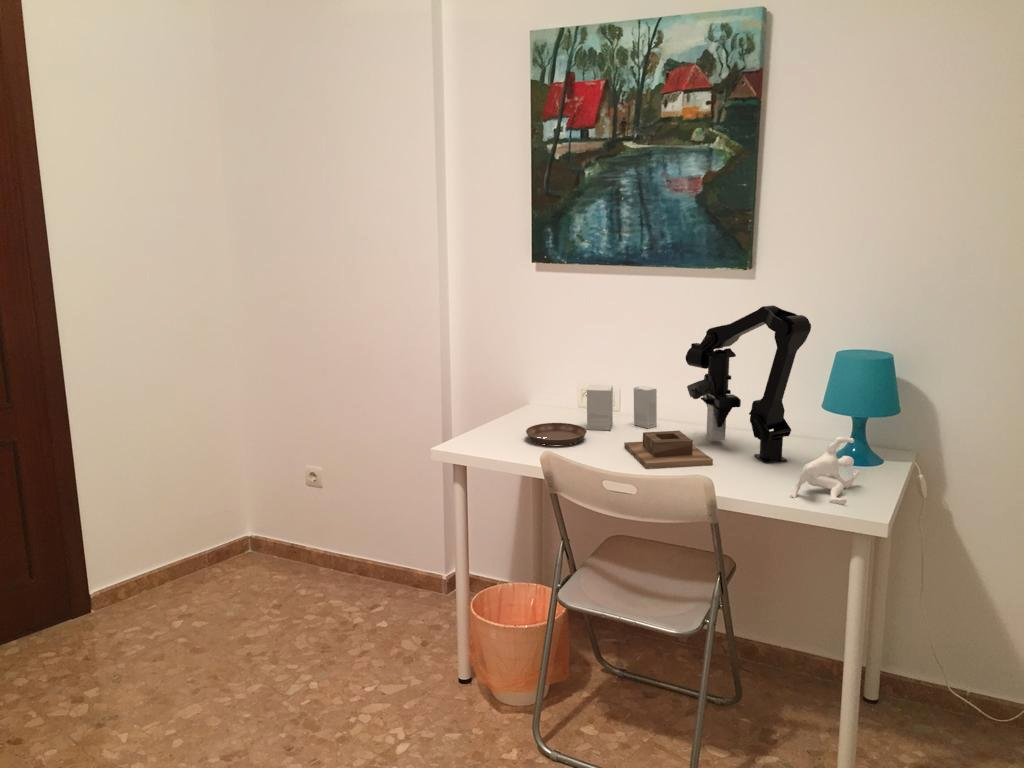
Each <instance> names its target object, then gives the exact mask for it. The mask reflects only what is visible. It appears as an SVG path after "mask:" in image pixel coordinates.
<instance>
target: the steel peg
mask: <svg viewBox="0 0 1024 768" xmlns="http://www.w3.org/2000/svg"><path fill="white" fill-rule="evenodd" d="M711 404H715V403H710V404H708V407H707V406H706V407H707V409H706V412H707V414H706V432H705V433H706V435H705V436H706V438H707V439H708V440H709V441H711V442H718V441H726V432H727V431H726V426H727V418H726V419H725V421H724V423H723V425H722V426H721V427H717V422H716V411H715V408H714V407H713V406H712V405H711Z"/></svg>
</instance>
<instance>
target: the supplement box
mask: <svg viewBox="0 0 1024 768" xmlns="http://www.w3.org/2000/svg"><path fill="white" fill-rule="evenodd" d="M613 403H614V388H613V385H598V384H590V385H589V387H588V388H587V389H586V428H587V429H586V430H587V431H588V430H589V431H592V430H593V431H597V430H598V431H611V429H612V427H613V424H614V421H613V419H614V418H613V417H614V416H613V414H614V413H613V411H614V408H613V406H614V405H613Z"/></svg>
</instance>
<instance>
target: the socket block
mask: <svg viewBox="0 0 1024 768" xmlns="http://www.w3.org/2000/svg"><path fill="white" fill-rule="evenodd" d="M693 441H694V440H693V439H692V438H690V437H688V436H687V435H686V434H684V433H683V432H682V431H681V430H666V431H646V432H645V431H643V432H642V441H629V442H626V441H624V443H623V444H624V445H623V447H624V449H625V450H626V451H627V452H628V453H629V452H630V453H631V454H630V455H631V456H632V455H633V456H634V457H633V456H632V457H633V458H635V460H636V461H637V462H639V464H641V465H642V466H643V467H644V468H645V469H646V470H649V468H652V469H666V467H670V468H681V467H683V468H685V467H702V466H703V465H704V466H713V465H714V459H713V458H711V456H709V455H708V454H706V453H705V452H704V451H702V450H701V449H700V448H698V447H697V446H696V445H694V444H693V443H694V442H693Z"/></svg>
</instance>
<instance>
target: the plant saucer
mask: <svg viewBox="0 0 1024 768" xmlns="http://www.w3.org/2000/svg"><path fill="white" fill-rule="evenodd" d="M587 432H588V430H587V429H586V428H585V427H584V426H581V425H578V424H573V423H567V422H545V423H539V424H534V425H532V426H529V427H527V429H526V430H525V433H526V435H527V436H528V437H529V439H530V440H531V441H532V442H533V441H534V442H533V443H535V442H536V443H535V444H537V443H539V444H538V445H540V444H545V445H568V446H571V445H570V444H573V445H576V444H578V443H579V441H580V442H581V440H583V438H584V437H585V436H586V434H587ZM537 437H541V438H537ZM543 437H547V438H545V439H543ZM575 443H576V444H575ZM545 445H544V446H545Z"/></svg>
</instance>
